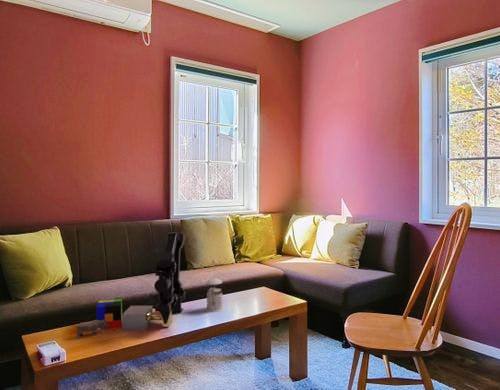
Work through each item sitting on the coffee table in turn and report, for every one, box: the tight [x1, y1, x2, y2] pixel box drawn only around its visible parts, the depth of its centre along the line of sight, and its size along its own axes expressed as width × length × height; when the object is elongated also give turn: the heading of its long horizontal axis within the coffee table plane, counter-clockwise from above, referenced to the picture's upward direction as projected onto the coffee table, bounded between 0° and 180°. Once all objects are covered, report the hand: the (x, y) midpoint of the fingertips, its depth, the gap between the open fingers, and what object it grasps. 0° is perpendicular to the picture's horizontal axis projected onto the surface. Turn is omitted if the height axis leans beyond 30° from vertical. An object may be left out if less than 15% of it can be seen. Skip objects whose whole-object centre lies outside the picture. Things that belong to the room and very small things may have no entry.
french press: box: [204, 259, 225, 313], centre depth 198 cm, size 10×12×25 cm
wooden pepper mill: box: [148, 310, 173, 328], centre depth 176 cm, size 6×17×6 cm, turn 90°
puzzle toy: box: [96, 298, 123, 331], centre depth 177 cm, size 10×10×10 cm
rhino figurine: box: [76, 319, 110, 339], centre depth 166 cm, size 4×14×6 cm, turn 126°
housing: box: [121, 305, 154, 331], centre depth 176 cm, size 12×10×7 cm
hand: (166, 321), depth 176 cm, fingers closed on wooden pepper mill, 6 cm apart
